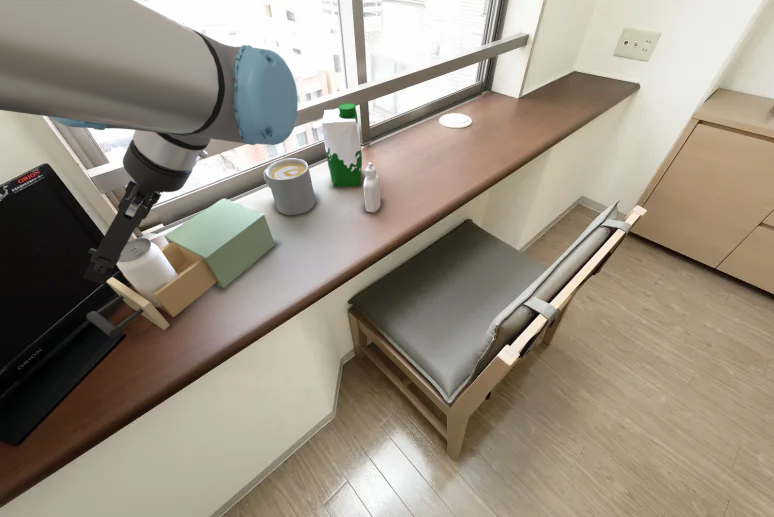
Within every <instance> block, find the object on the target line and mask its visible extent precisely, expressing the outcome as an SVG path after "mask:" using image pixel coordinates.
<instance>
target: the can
mask: <svg viewBox="0 0 774 517" xmlns="http://www.w3.org/2000/svg"><path fill="white" fill-rule="evenodd" d="M160 249H161V248H159V246H158V245H157V244H156V243H153V242H152V241H151V240H150V239H149V238H147V237H137V238H136V237H135V238H133V239H129V240H128V242H127V244H126V245H125V247H124V249H123V251H122V252H121V254H120V255H121V257H120V259H119V260H118V262H117V264H116V266H117V268H118V269H119V271H120V272H121V273H122V275H123V274H124V275H125V276H126V277H127V279H128V280H129V281H130V282H131V283H132V284H133V285H134V287H135V288H136V289H137V290H138V291H139V292H140V294H141V295H142V296H143V298H145V299H146V300H148V301H149V302H151V304H152V305H153V306H154V307H155V308H159V307H163V306H162V304H161V303H160V302H159V301H158V300H157V298H156V297H155V296H154V295H153V294H154V293H155V292H156V291H158V290H159V289H160V288H162V287H163V286H164V285H166V284H167V283H168V282H170V281H171V280H173V279H174V278H175V277H177V276H178V274H177V273H176V272H175V270H174V269H173V267H172V266H171V264H170V263H169V262H168V260H167V259H166V257H165V256H164V254H163V253H162V252H161V250H160ZM124 275H123V276H124ZM127 279H126V280H127ZM128 280H127V281H128ZM129 281H128V282H129ZM130 282H129V283H130ZM134 287H133V288H134ZM135 288H134V289H135ZM136 289H135V290H136ZM137 290H136V291H137ZM140 294H139V295H140ZM141 295H140V296H141Z"/></svg>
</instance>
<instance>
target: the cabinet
mask: <svg viewBox="0 0 774 517" xmlns="http://www.w3.org/2000/svg"><path fill="white" fill-rule="evenodd" d="M163 237H164V238H165V240H166V242H167V244H169V243H171V242H173V243H175V244H176V245H178V246H180V247H182V248H184V249H186V250H188V251H190V252H192V253H194V254H195V255H197V256H199V257H201V258H203V259H205V261H206V262H207V264H208V266H209V267H210V269H211V271H212V273H213V274H214V276H215V278H216V279H217V281H218V282H216V283H215V284H214V285H217V286H218V287H221V288H222V289H225V288H226V287H227V286H228V285H229V284H231V283H232V282H233V281H234V280H235V279H237V278H238V277H240V275H241V274H242V273H244V272H245V271H247V270H248V268H250V267H251V266H252V265H253V264H254V263H256V262H257V261H258V260H259V259H261V258H262V257H263V256H264V255H265V254H266V253H267V252H269V251H270V250H271V249H272V248H273V247H275V246H276V243H275V240H274V237H273V235H272V232H271V229H270V226H269V223H268V221H267V218H266V214H265V213H262V212H259V211H257V210H254V209H252V208H249V207H247V206H244V205H242V204H239V203H237V202H234V201H232V200H229V199H228V198H224V197H223V198H221V199H220V200H218V201H216V202H215V203H214V204H212V205H210V206H209V207H207V208H205V209H204V210H202V211H201V212H199V213H197V214H196V215H195V216H193V217H191V218H190V219H188V220H187V221H185V222H183V223H182V224H181V225H179V226H177V227H176V228H174V229H172V230H171V231H169V232H168V233H167V234H165V235H164V236H163Z"/></svg>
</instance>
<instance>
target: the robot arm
mask: <svg viewBox="0 0 774 517" xmlns="http://www.w3.org/2000/svg"><path fill="white" fill-rule="evenodd" d="M298 94H299V93H298V87H297V83H296V80H295V77H294V74H293V72H292V70H291V68H290V66H289V65H288V63H287V61H286V60H285V59H284V58H283V57H282V56H281V55H280V54H279V53H277V52H275V51H273V50H270V49H265V48H258V47H253V46H252V45H249V44H247V45H246V44H243V45H241V46H232V45H228V44H224V43H222V42H220V41H217V40H216V39H213V38H212V37H210V36H207V35H206V34H203V33H201V32H199V31H197V30H195V29H193V28H190V27H188V26H186V25H183V24H182V23H180V22H178V21H176V20H174V19H172V18H170V17H168V16H166V15H164V14H162V13H161V12H158V11H156V10H154V9H152V8H150V7H149V6H146V5H145V4H143V3H140V2H138V1H136V0H0V111H4V112H11V113H12V112H13V113H18V114H19V113H20V114H26V115H35V116H42V117H49V118H51V119H52V120H54V121H55V122H57V123H59V124H61V125H63V126H67V127H70V128H81V129H82V128H83V129H93V130H96V131H105V129H119V130H132V131H134V133H133V135H132V139H131V141H130V142H129V145H128V147H127V149H126V151H125V153H124V155H123V158H122V165H123V168H124V170H125V171H126V173H127V174H128V175H129V177H131V179H130V180H129V182H128V183H127V185H126V187H125V189H124V190H125V193H124V195H123V196H122V198H121V199H120V201H119V203H118V205H117V209H118V210H117V213H116V215H114V216H115V217H114V219H113V220H112V222H111V223H110V225H109V227H108V229H107V230H106V232H105V234H104V236H103V237H102V240H101V242H100V243H99V245H98V247H97V248H96V249H95V248H90V249H89V250H88V252H87V253H88V254H91V257H90V260H89V261H90V263H89V265H88V267H87V269H86V271H85V272H84V275H83V276H82V278H83V279H85V280H88V281H91V282H95V283H98V284H101V285H104V286H105V285H106V284H107V280H109V279H110V278H111V277H110V276H111V274H112V273H113V271H114V269H115V268H116V266H117V265H116V264H117V262H118V260H119V259H120V257H121V255H120V254H121V252H122V251H123V249H124V247H125V245H126V244H127V242H128V241H129V240H130V239H131V236H132V235H133V233H134V232H135V229H136V228H137V229H138V228H139V226H140V225H141V223H142V221H143V220H145V219H146V218H147V217H148V216H149V214H150V212H151V210H152V209H153V207H154V205H156V204H157V203H158V202H159V200H160V198H161V197H162V195H163V194H162V193H174V192H178V191H179V190H181V189H183V187H184V186H185V184H186V182H187V181H188V179H189V178H190V176H191V174H192V173H193V169H194V168H195V166H196V165H197V164H198V162H199V160H200V158H201V159H207V158H208V152H207V151H205V150H206V149H207V147H208V146H209V144H210V142H211V140H215V141H217V140H218V141H225V142H232V143H240V144H245V145H249V146H255V145H264V146H265V145H267V146H276V145H280V144H281V143H284V142H285V141H286V140H287V139H288V138H289V137H290V136H291V134H292V133H293V131H294V129H295V126H296V124H297V119H298V113H299V112H298V105H299V104H298V102H299V95H298Z"/></svg>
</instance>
